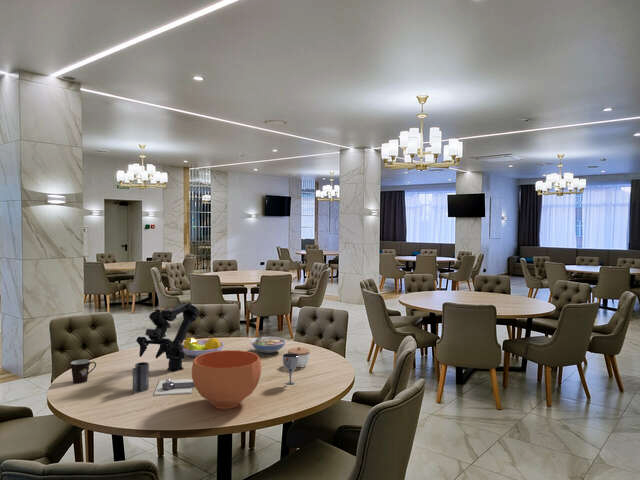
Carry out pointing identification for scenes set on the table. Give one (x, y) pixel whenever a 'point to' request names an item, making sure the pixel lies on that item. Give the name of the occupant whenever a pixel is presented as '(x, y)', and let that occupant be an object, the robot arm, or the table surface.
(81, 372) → the coffee mug
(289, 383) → the wine glass
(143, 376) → the loose hinge half
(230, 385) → the flowerpot
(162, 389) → the hinge base
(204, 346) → the fruit bowl
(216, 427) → the table surface
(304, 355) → the lidded bowl
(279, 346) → the ramen bowl
